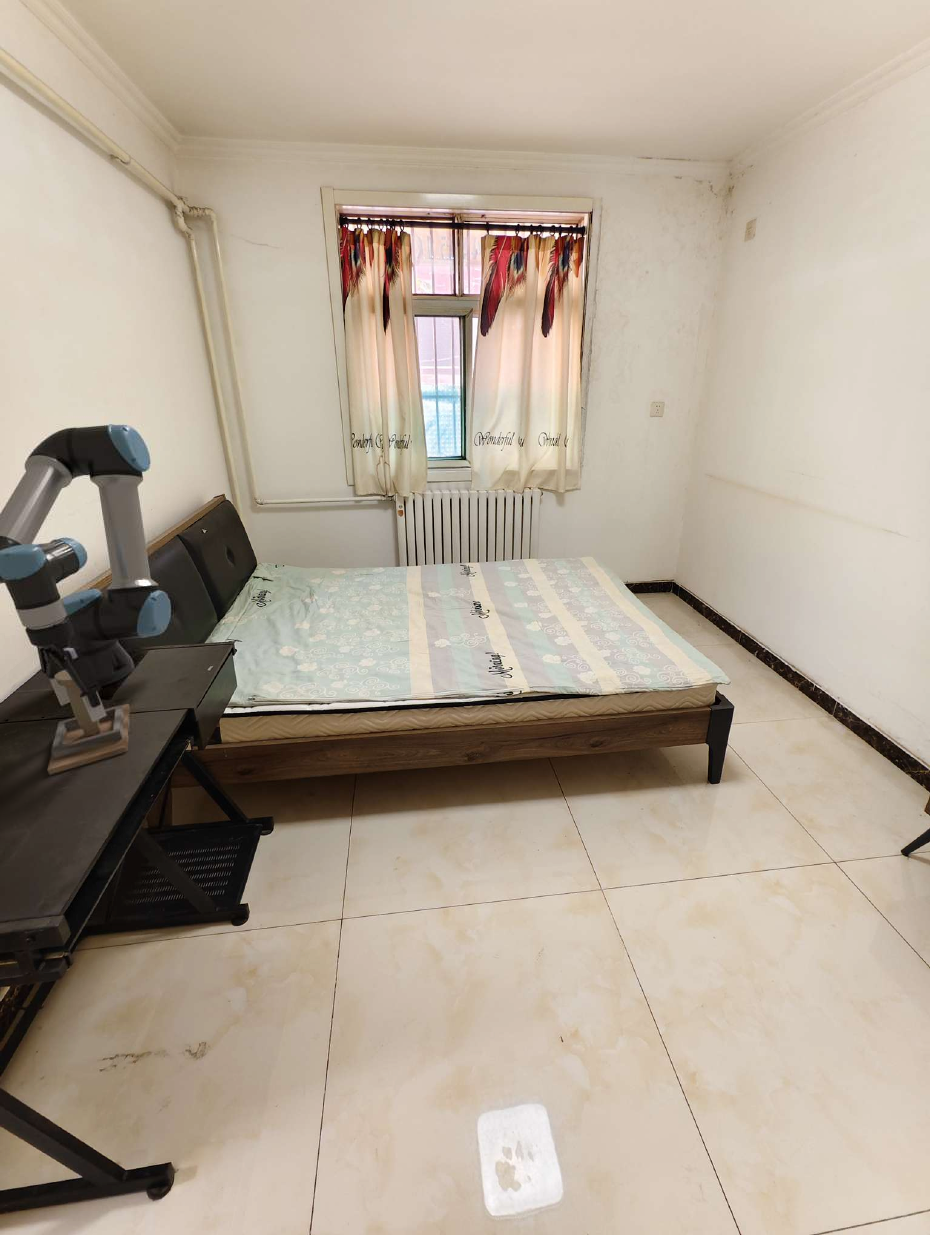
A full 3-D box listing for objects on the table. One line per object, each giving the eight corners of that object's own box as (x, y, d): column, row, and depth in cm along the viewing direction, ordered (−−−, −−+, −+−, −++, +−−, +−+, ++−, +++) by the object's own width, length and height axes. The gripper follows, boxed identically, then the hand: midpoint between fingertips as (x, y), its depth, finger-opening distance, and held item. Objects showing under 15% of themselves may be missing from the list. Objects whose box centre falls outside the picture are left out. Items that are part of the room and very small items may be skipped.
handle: (91, 742, 120) (67, 682, 114) (73, 735, 123) (48, 676, 117) (112, 729, 124) (90, 671, 118) (94, 723, 127) (71, 666, 121)
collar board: (62, 726, 129) (57, 714, 128) (130, 707, 135) (125, 696, 134) (49, 774, 113) (43, 762, 111) (127, 751, 118) (122, 739, 117)
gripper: (97, 625, 109) (131, 716, 118) (38, 605, 121) (73, 688, 130) (55, 641, 103) (94, 735, 112) (-2, 618, 116) (37, 704, 125)
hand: (83, 710), depth 121 cm, fingers open, 13 cm apart
